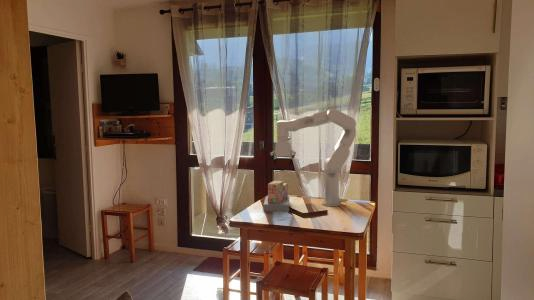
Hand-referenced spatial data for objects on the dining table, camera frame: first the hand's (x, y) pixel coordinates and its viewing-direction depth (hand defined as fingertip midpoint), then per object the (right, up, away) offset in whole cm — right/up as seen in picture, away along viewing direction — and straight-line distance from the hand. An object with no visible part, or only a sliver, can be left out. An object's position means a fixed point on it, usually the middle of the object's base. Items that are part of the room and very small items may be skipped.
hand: (283, 165), depth 284 cm
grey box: (-4, -28, -4) cm, 28 cm away
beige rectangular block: (-4, -23, -3) cm, 23 cm away
